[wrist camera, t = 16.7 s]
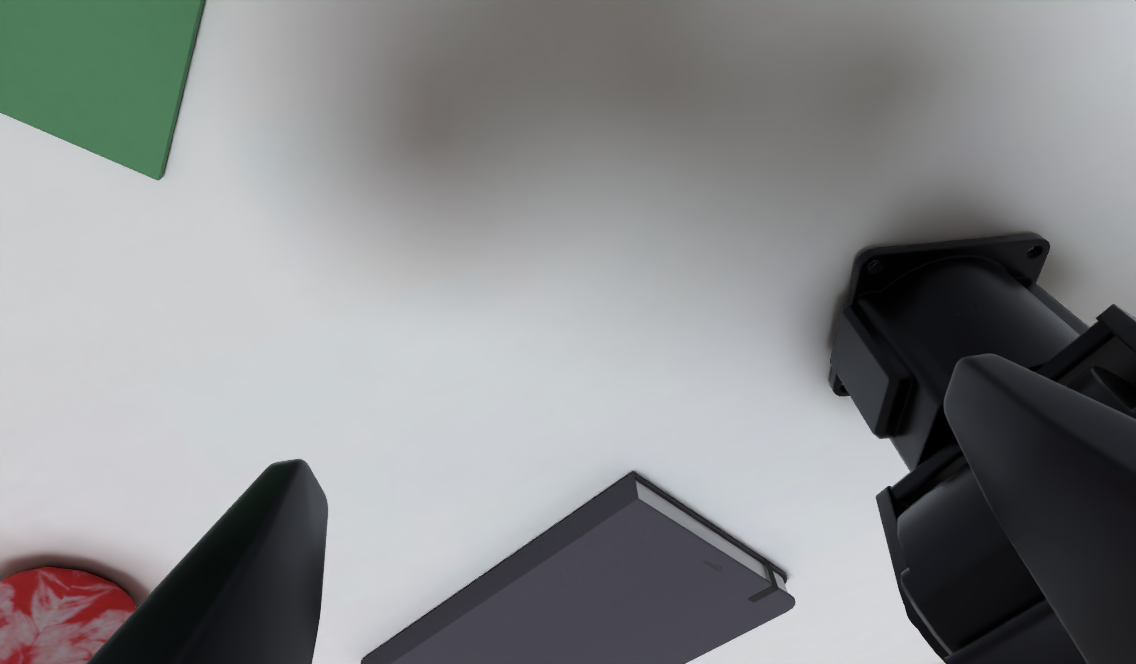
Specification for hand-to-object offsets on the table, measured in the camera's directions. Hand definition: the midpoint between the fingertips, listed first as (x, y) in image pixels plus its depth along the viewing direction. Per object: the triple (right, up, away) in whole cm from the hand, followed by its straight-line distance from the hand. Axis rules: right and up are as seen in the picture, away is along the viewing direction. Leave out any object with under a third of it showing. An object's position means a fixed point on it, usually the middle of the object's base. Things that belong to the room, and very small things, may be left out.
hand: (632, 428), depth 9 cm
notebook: (-1, -15, +27) cm, 31 cm away
